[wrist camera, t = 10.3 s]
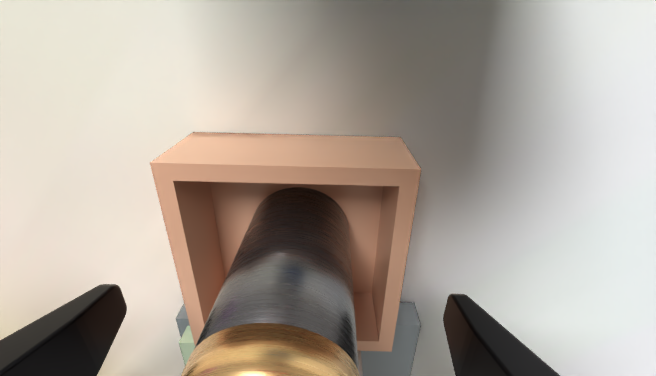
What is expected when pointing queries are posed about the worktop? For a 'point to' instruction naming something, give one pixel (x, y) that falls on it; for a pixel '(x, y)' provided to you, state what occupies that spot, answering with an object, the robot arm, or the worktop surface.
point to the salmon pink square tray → (280, 173)
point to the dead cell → (285, 295)
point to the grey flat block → (374, 366)
